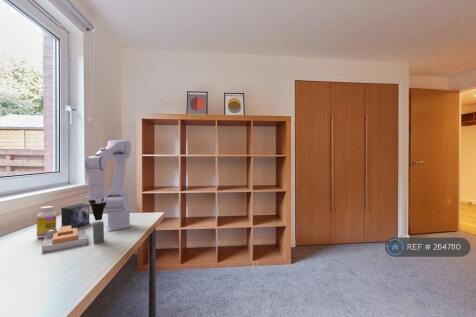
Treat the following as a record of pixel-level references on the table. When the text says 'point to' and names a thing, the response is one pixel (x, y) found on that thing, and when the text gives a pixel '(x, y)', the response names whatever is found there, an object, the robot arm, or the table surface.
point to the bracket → (65, 234)
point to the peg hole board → (48, 245)
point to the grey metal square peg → (98, 232)
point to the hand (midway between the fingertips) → (97, 218)
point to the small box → (75, 215)
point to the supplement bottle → (45, 221)
